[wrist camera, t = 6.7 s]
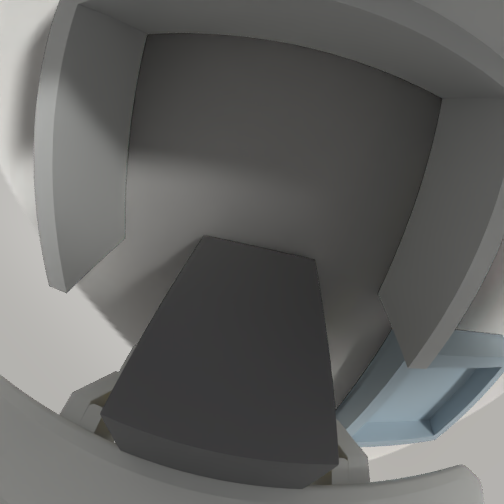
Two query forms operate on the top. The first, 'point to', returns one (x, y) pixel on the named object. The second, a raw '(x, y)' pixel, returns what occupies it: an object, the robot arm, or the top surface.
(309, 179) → the top surface
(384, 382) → the tray
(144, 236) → the top surface
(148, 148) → the top surface
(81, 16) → the bay
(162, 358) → the upright charcoal rectangular block
